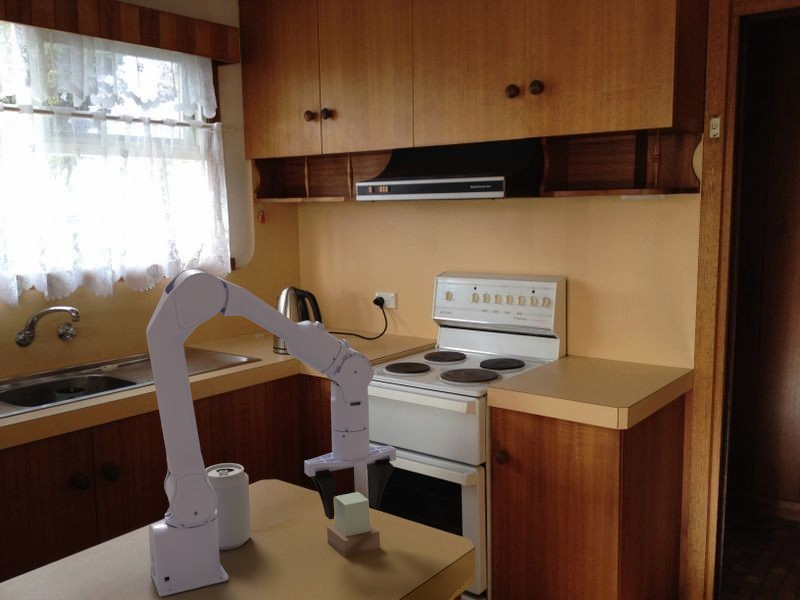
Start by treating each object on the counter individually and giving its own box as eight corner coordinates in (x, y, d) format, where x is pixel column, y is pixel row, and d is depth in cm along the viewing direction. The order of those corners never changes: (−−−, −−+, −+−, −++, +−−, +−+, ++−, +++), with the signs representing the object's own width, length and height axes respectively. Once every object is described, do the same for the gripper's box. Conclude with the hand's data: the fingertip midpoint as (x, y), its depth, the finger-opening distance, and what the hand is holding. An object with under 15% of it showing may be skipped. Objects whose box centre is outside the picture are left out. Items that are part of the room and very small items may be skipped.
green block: (345, 536, 113) (344, 505, 113) (335, 527, 117) (334, 496, 116) (369, 531, 115) (368, 500, 115) (359, 522, 119) (358, 491, 118)
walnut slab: (345, 560, 113) (344, 541, 112) (327, 545, 118) (327, 526, 117) (379, 550, 116) (379, 531, 115) (361, 535, 121) (360, 518, 120)
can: (254, 530, 122) (251, 459, 121) (246, 551, 115) (243, 476, 114) (208, 532, 122) (205, 461, 121) (197, 553, 115) (193, 477, 113)
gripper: (314, 441, 107) (317, 531, 109) (404, 426, 114) (405, 511, 116) (298, 428, 114) (301, 514, 115) (384, 415, 120) (385, 496, 122)
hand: (352, 511), depth 116 cm, fingers open, 7 cm apart
